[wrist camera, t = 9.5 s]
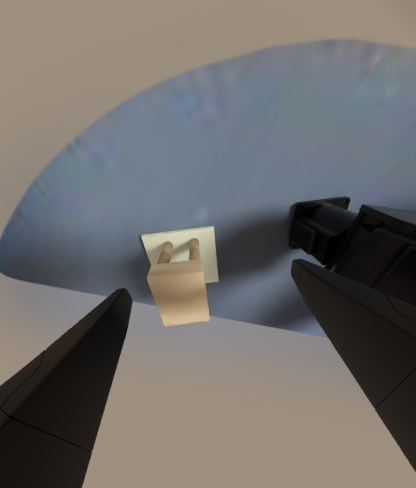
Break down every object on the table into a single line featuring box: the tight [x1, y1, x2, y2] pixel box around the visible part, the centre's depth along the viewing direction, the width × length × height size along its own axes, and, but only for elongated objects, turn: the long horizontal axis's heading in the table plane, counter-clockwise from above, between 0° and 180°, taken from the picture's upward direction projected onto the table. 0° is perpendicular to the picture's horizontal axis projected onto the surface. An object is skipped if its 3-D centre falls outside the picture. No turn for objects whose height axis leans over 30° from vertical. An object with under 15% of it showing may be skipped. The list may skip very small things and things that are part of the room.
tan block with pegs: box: [147, 238, 210, 326], centre depth 19 cm, size 7×5×7 cm
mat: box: [141, 226, 219, 283], centre depth 23 cm, size 9×9×1 cm
